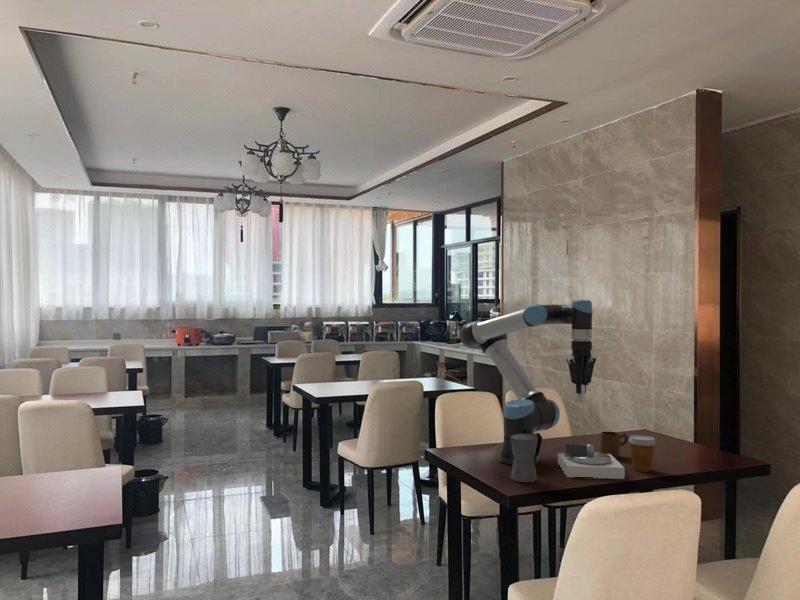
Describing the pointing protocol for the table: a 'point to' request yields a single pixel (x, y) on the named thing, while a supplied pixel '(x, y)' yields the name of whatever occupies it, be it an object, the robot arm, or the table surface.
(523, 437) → the coffeepot
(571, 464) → the dial housing
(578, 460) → the dial
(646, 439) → the disposable coffee cup
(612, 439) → the mug
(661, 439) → the table surface
